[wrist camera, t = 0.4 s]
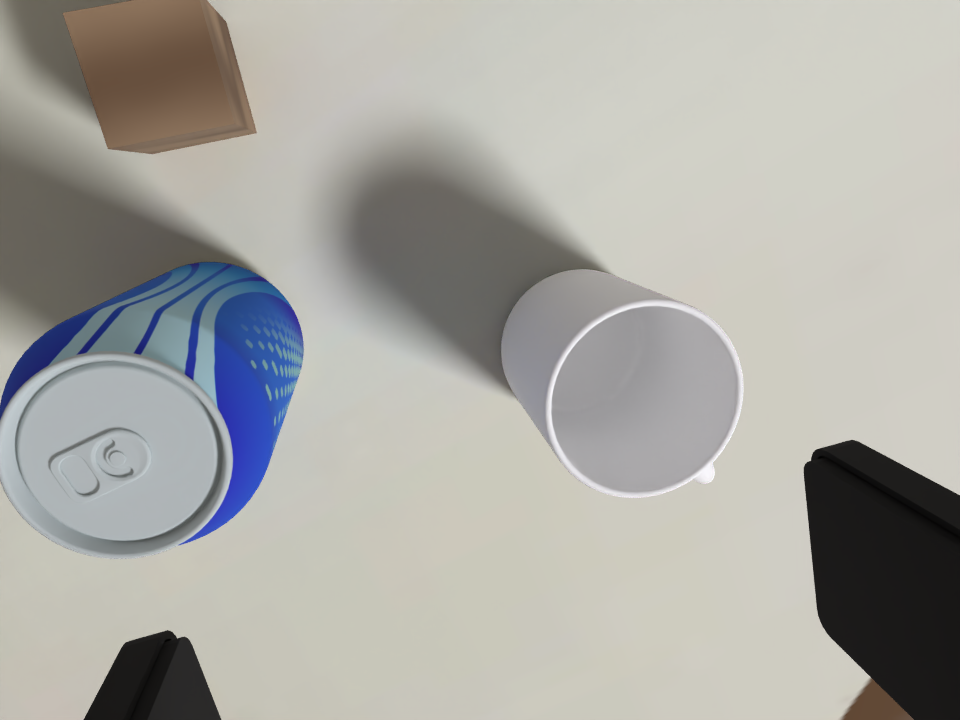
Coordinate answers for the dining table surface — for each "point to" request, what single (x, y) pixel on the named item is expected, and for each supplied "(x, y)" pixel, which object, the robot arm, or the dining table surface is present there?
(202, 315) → the beer can
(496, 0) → the dining table surface
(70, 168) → the dining table surface
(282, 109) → the dining table surface
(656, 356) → the mug
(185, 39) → the walnut block
